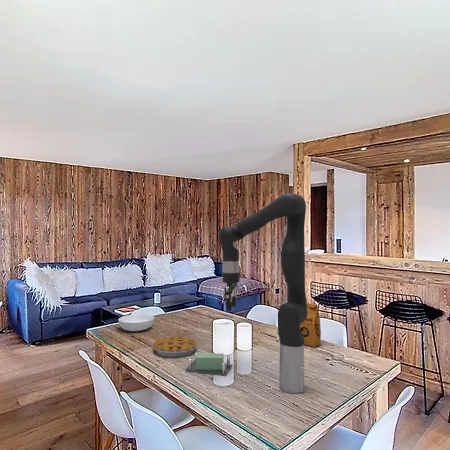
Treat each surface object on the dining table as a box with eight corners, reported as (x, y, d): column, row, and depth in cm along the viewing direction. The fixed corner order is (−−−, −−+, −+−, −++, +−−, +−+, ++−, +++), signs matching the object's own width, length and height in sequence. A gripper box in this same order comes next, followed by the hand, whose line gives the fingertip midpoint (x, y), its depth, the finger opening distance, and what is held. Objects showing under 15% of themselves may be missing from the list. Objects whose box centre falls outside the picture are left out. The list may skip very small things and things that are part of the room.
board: (223, 364, 158) (223, 353, 158) (223, 369, 152) (223, 358, 152) (196, 364, 158) (196, 353, 158) (195, 369, 152) (195, 357, 153)
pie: (153, 360, 165) (153, 349, 165) (153, 345, 186) (153, 335, 186) (200, 357, 169) (200, 347, 169) (194, 343, 190) (194, 333, 190)
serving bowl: (138, 322, 229) (138, 312, 229) (161, 328, 216) (161, 317, 216) (110, 330, 212) (111, 318, 212) (134, 336, 199) (134, 324, 199)
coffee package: (313, 349, 182) (314, 306, 182) (293, 343, 191) (294, 302, 191) (323, 345, 189) (324, 303, 189) (304, 339, 198) (304, 300, 198)
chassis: (232, 366, 158) (232, 355, 158) (226, 376, 148) (226, 364, 148) (194, 362, 163) (194, 351, 163) (185, 371, 152) (185, 360, 152)
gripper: (235, 273, 148) (236, 312, 148) (242, 269, 162) (242, 305, 162) (218, 273, 150) (218, 311, 150) (226, 269, 164) (226, 305, 163)
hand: (231, 308), depth 156 cm, fingers open, 8 cm apart
